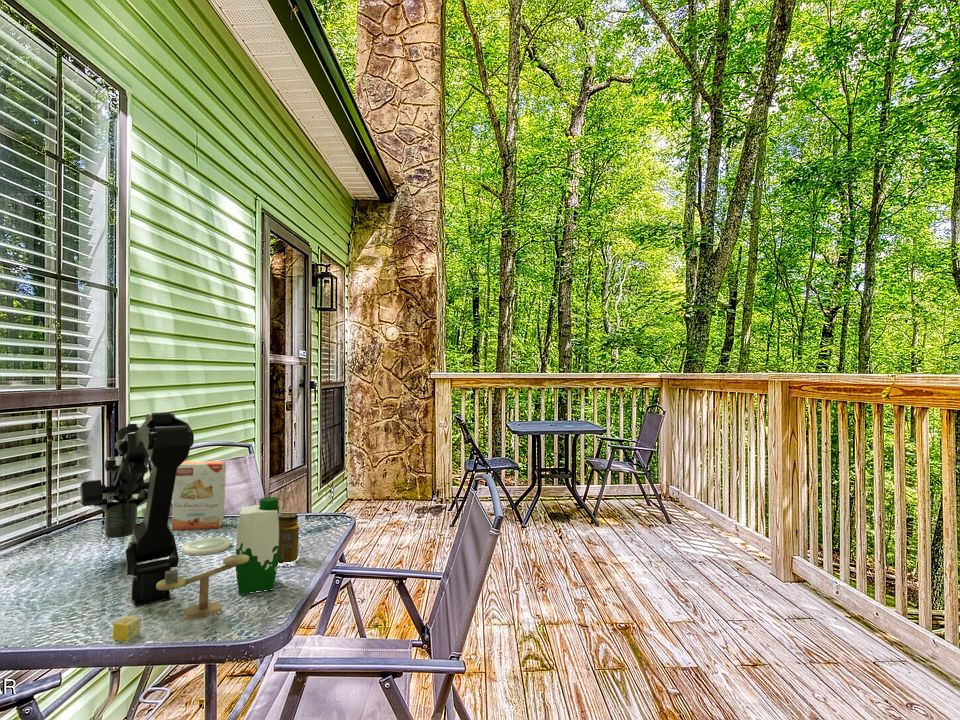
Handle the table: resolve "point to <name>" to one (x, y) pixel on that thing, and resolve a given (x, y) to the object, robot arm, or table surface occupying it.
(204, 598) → the balance
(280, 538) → the condiment
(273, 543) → the milk carton
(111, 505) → the supplement bottle
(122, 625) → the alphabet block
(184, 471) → the cracker box
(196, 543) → the dish
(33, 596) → the table surface
